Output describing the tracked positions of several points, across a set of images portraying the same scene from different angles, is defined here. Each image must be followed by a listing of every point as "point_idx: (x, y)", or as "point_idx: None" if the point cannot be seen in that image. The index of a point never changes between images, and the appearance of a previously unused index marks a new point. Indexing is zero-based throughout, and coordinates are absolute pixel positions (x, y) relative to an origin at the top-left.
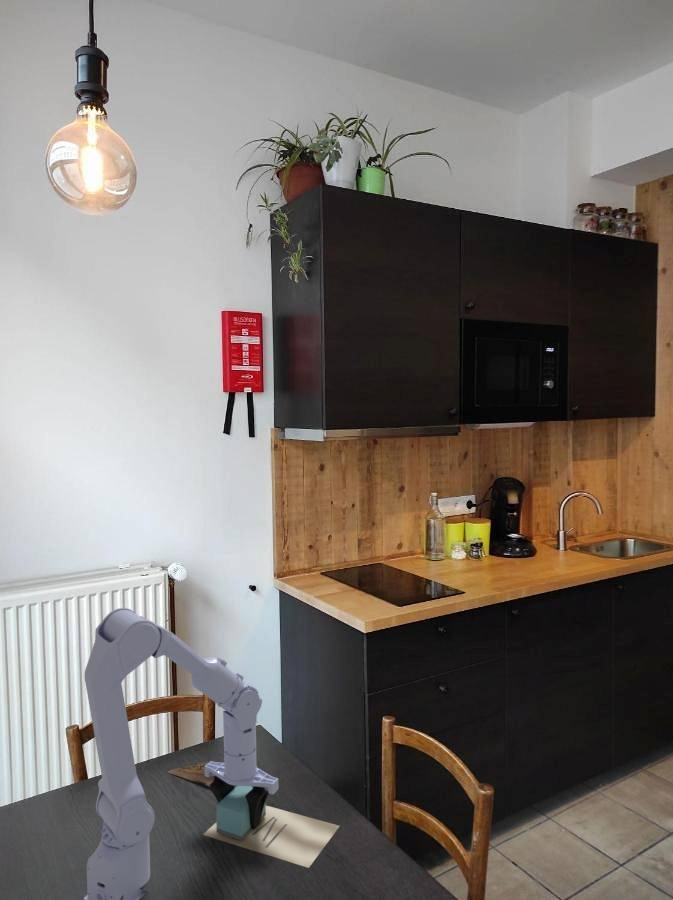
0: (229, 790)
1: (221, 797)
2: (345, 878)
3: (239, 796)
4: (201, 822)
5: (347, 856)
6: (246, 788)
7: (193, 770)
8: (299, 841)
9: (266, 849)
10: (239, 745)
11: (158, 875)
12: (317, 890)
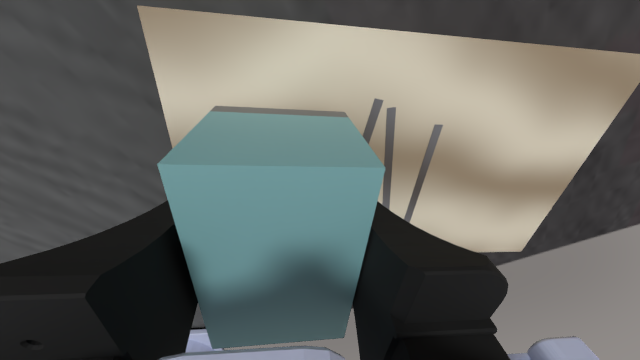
0: (176, 277)
1: (189, 323)
2: (587, 213)
3: (266, 279)
4: (115, 171)
5: (612, 148)
6: (255, 216)
7: None
8: (494, 184)
9: None
10: None
11: (204, 324)
12: (522, 255)
